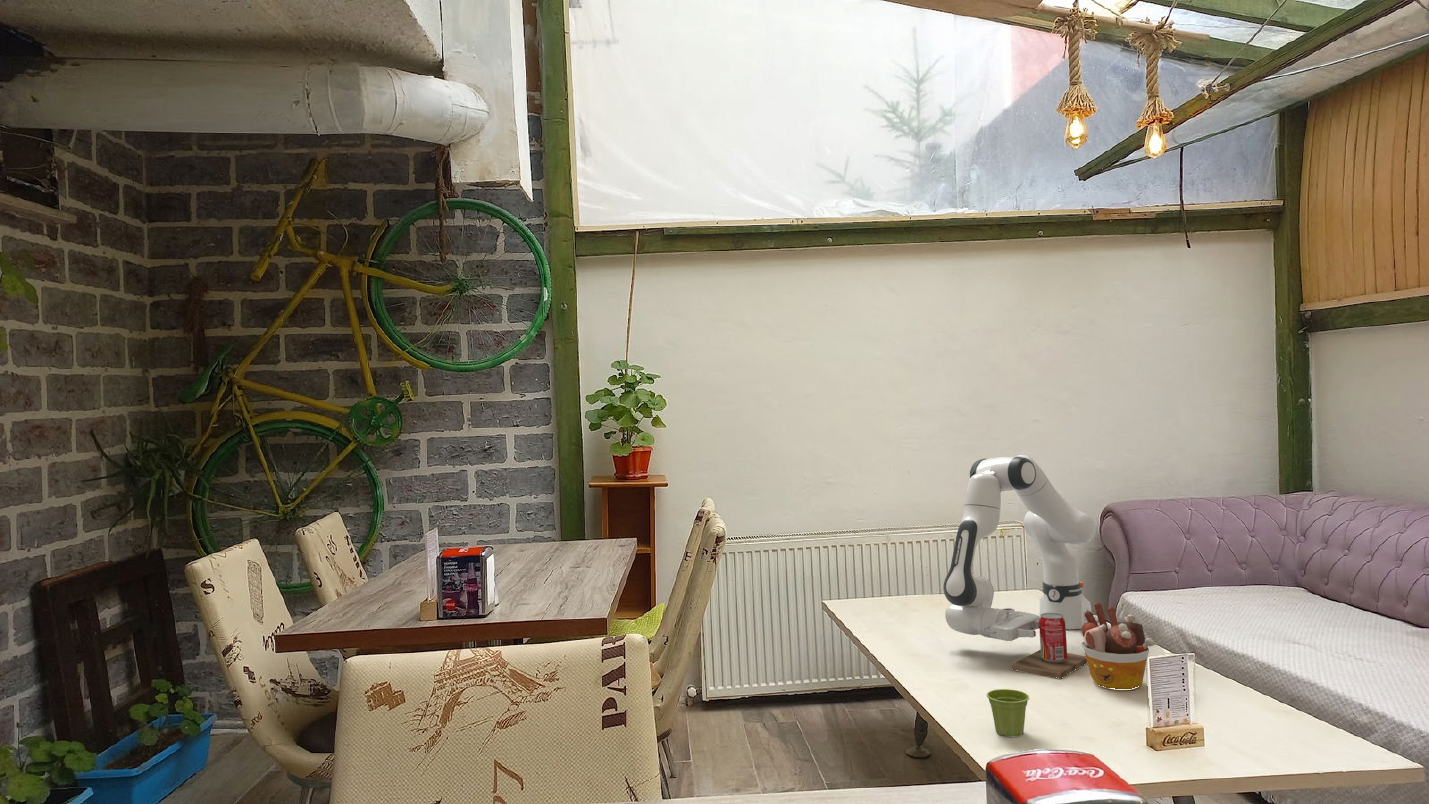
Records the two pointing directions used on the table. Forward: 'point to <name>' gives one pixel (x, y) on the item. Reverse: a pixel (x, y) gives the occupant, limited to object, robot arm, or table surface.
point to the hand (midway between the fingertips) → (1041, 630)
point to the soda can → (1053, 638)
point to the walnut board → (1049, 665)
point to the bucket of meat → (1115, 650)
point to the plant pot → (1008, 710)
